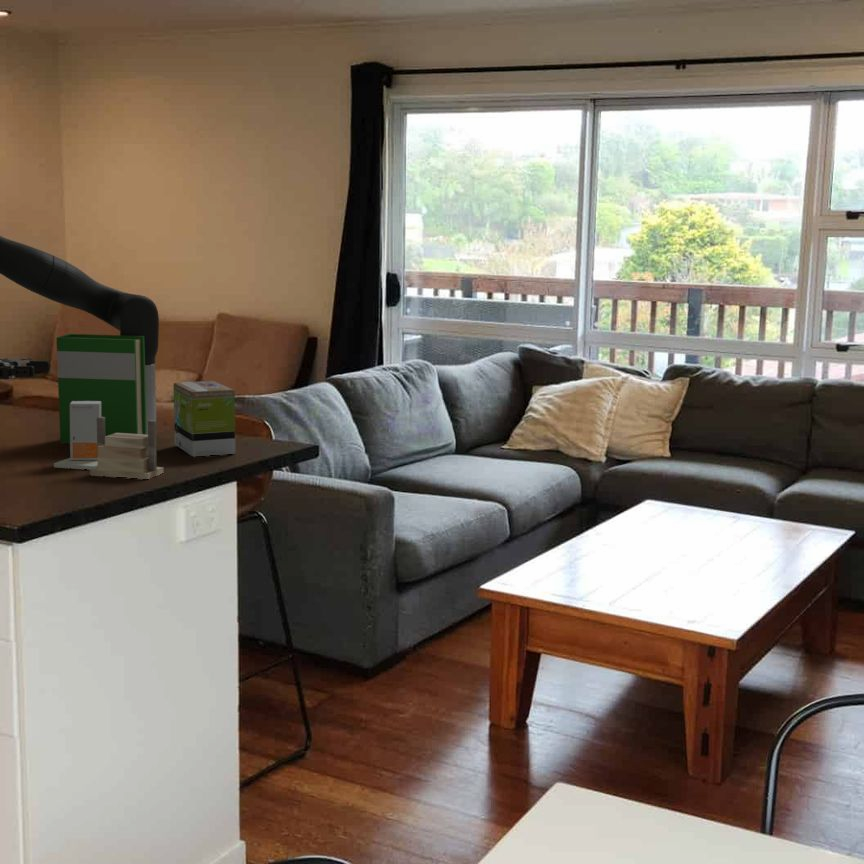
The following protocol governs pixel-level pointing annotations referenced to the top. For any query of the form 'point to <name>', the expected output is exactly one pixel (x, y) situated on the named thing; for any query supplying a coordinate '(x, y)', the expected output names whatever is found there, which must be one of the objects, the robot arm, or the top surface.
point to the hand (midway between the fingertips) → (41, 368)
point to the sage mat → (77, 464)
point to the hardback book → (103, 380)
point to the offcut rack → (126, 453)
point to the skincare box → (84, 429)
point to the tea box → (204, 418)
